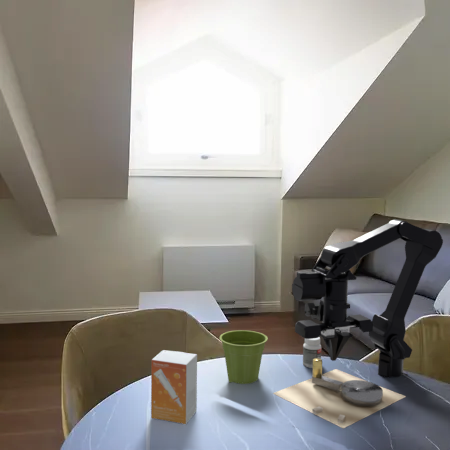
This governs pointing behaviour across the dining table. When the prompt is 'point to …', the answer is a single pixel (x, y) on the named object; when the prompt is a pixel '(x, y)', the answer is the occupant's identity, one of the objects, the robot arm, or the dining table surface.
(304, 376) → the dining table surface
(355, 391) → the lever
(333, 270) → the robot arm
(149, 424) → the dining table surface
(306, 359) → the pill bottle
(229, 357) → the plant pot
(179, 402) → the small box
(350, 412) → the stand board
